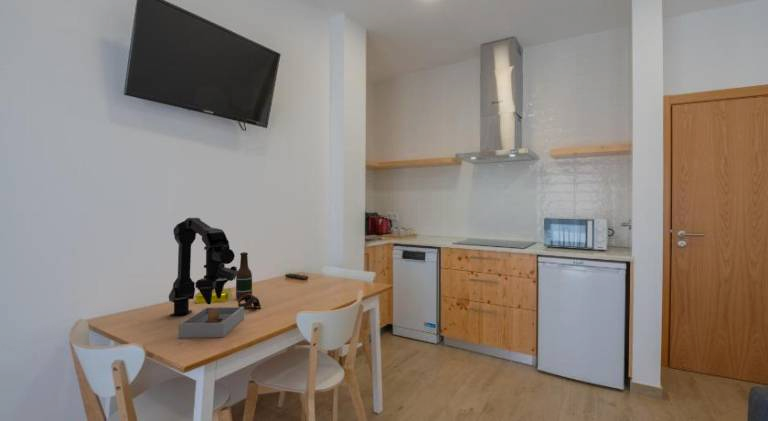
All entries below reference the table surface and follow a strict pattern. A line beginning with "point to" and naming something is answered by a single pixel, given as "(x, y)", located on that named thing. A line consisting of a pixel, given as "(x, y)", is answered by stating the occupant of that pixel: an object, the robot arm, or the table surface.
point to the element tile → (224, 296)
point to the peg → (213, 315)
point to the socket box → (201, 328)
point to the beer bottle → (243, 278)
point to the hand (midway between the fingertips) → (214, 301)
